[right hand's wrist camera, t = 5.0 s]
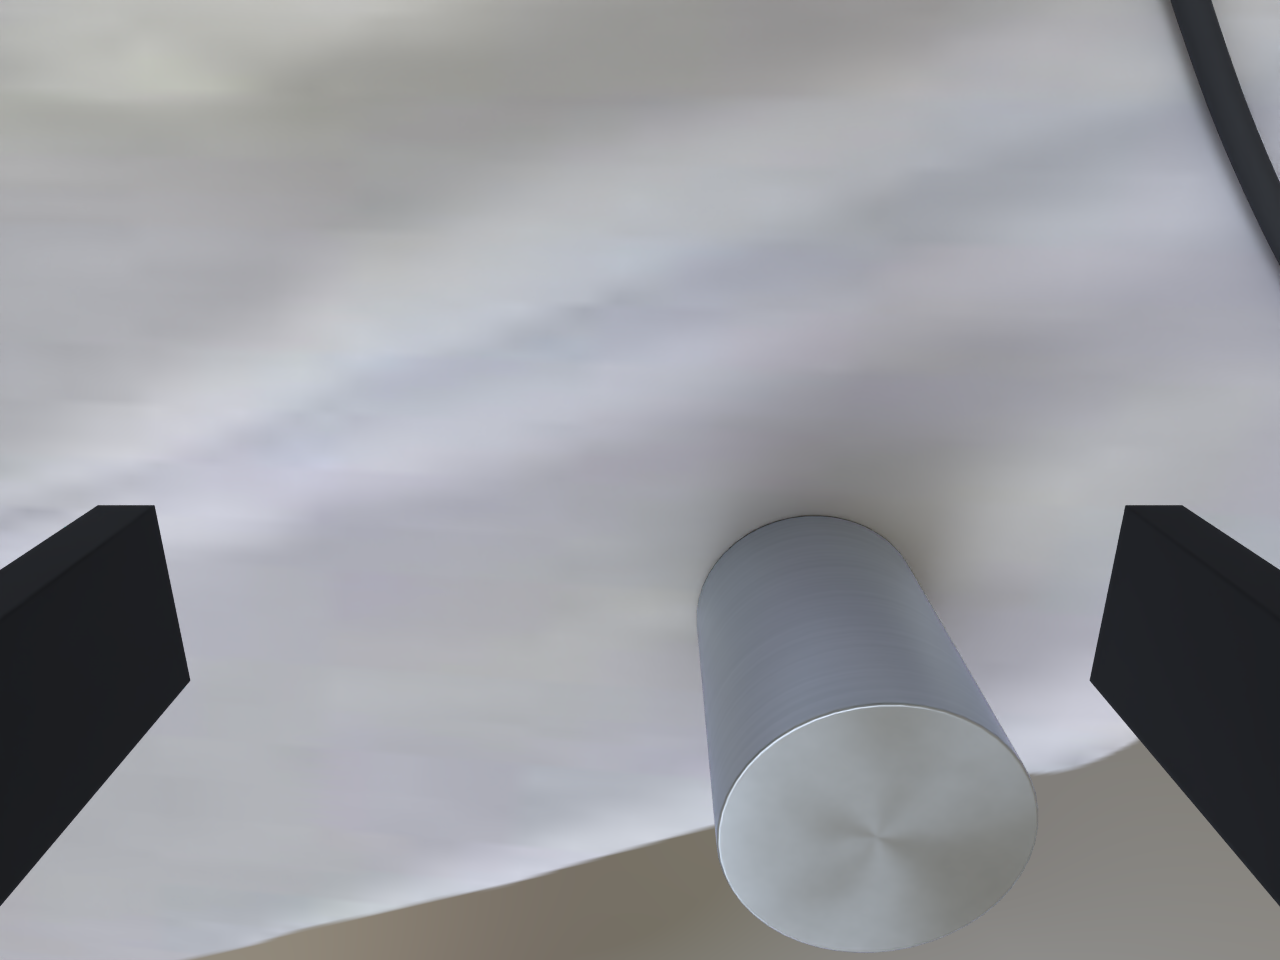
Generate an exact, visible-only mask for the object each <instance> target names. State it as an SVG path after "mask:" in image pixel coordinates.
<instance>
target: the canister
mask: <svg viewBox="0 0 1280 960" xmlns="http://www.w3.org/2000/svg"><path fill="white" fill-rule="evenodd" d="M697 632H698V643H699V654H700V666H701V677H702V688H703V699H704V710H705V721H706V732H707V744H708V755H709V766H710V777H711V788H712V799H713V810H714V821H715V833H716V843H717V850H718V857H719V861H720V864H721V867H722V870H723V874H724V876H725V878H726V879H727V882H728V883H729V885H730V887H731V889H732V891H733V892H734V893H735V895H736V896H737V897H738V899H739V900H740V901H741V903H742V904H743V905H744V906H745V907H746V908H747V909H748V910H749V911H750V912H751V913H752V914H753V915H754V916H756V917H757V918H758V919H759V920H761V921H762V922H763V923H765V924H766V925H767V926H769V927H771V928H772V929H774V930H776V931H777V932H779V933H781V934H783V935H785V936H787V937H790V938H792V939H794V940H797V941H799V942H802V943H805V944H809V945H812V946H815V947H819V948H824V949H829V950H834V951H843V952H854V953H874V952H885V951H894V950H900V949H905V948H910V947H914V946H918V945H921V944H925V943H928V942H932V941H934V940H937V939H939V938H942V937H944V936H947V935H949V934H951V933H953V932H955V931H957V930H959V929H961V928H963V927H965V926H967V925H968V924H970V923H971V922H973V921H974V920H976V919H978V918H979V917H981V916H982V915H983V914H985V913H986V912H987V911H988V910H990V909H991V908H992V907H993V906H994V905H996V904H997V903H998V902H999V901H1000V900H1001V899H1002V898H1003V897H1004V896H1005V894H1006V893H1007V892H1008V891H1009V890H1010V889H1011V888H1012V886H1013V885H1014V884H1015V882H1016V881H1017V880H1018V878H1019V877H1020V875H1021V874H1022V872H1023V870H1024V868H1025V866H1026V864H1027V863H1028V861H1029V858H1030V856H1031V853H1032V850H1033V847H1034V844H1035V840H1036V834H1037V829H1038V805H1037V799H1036V793H1035V790H1034V787H1033V784H1032V781H1031V778H1030V776H1029V774H1028V772H1027V770H1026V769H1025V767H1024V765H1023V763H1022V761H1021V760H1020V758H1019V756H1018V754H1017V753H1016V751H1015V749H1014V747H1013V746H1012V744H1011V742H1010V741H1009V739H1008V737H1007V735H1006V734H1005V732H1004V730H1003V728H1002V727H1001V725H1000V723H999V721H998V720H997V718H996V716H995V715H994V713H993V711H992V709H991V708H990V706H989V704H988V702H987V701H986V699H985V697H984V696H983V694H982V692H981V690H980V689H979V687H978V685H977V683H976V682H975V680H974V678H973V677H972V675H971V673H970V671H969V670H968V668H967V666H966V664H965V663H964V661H963V659H962V657H961V656H960V654H959V652H958V651H957V649H956V647H955V645H954V644H953V642H952V640H951V638H950V637H949V635H948V633H947V632H946V630H945V628H944V626H943V625H942V623H941V621H940V619H939V618H938V616H937V614H936V613H935V611H934V609H933V607H932V606H931V604H930V602H929V600H928V599H927V597H926V595H925V593H924V592H923V590H922V588H921V587H920V585H919V583H918V581H917V580H916V578H915V576H914V574H913V573H912V571H911V569H910V568H909V566H908V564H907V562H906V561H905V559H904V558H903V557H902V556H901V554H900V553H899V552H898V550H897V549H896V548H895V547H893V546H892V545H891V544H890V543H889V542H888V541H887V540H886V539H884V538H883V537H882V536H880V535H879V534H877V533H876V532H874V531H872V530H870V529H868V528H866V527H865V526H862V525H859V524H857V523H854V522H851V521H848V520H843V519H839V518H834V517H825V516H804V517H796V518H790V519H786V520H782V521H778V522H774V523H772V524H769V525H766V526H764V527H761V528H760V529H758V530H756V531H754V532H752V533H750V534H748V535H747V536H745V537H744V538H742V539H741V540H739V541H738V542H737V543H735V544H734V545H733V546H732V547H731V548H730V549H729V550H728V551H726V552H725V553H724V555H723V556H722V557H721V558H720V559H719V560H718V562H717V563H716V564H715V566H714V567H713V569H712V570H711V572H710V573H709V575H708V577H707V579H706V581H705V583H704V585H703V588H702V591H701V594H700V597H699V602H698V608H697Z"/></svg>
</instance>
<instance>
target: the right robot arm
mask: <svg viewBox="0 0 1280 960" xmlns="http://www.w3.org/2000/svg"><path fill="white" fill-rule="evenodd" d="M1171 3H1172V6H1173V9H1174V12H1175V15H1176V18H1177V21H1178V24H1179V27H1180V30H1181V33H1182V36H1183V39H1184V42H1185V44H1186V47H1187V50H1188V53H1189V56H1190V59H1191V62H1192V65H1193V67H1194V70H1195V73H1196V76H1197V79H1198V81H1199V84H1200V87H1201V89H1202V92H1203V95H1204V98H1205V100H1206V103H1207V105H1208V108H1209V111H1210V113H1211V116H1212V118H1213V121H1214V123H1215V126H1216V128H1217V131H1218V133H1219V136H1220V138H1221V140H1222V143H1223V145H1224V148H1225V150H1226V152H1227V155H1228V157H1229V159H1230V162H1231V164H1232V166H1233V168H1234V171H1235V173H1236V175H1237V178H1238V180H1239V182H1240V184H1241V186H1242V189H1243V191H1244V193H1245V195H1246V197H1247V199H1248V202H1249V204H1250V206H1251V208H1252V210H1253V212H1254V214H1255V216H1256V219H1257V221H1258V223H1259V225H1260V227H1261V229H1262V231H1263V233H1264V235H1265V237H1266V239H1267V241H1268V243H1269V245H1270V247H1271V249H1272V251H1273V253H1274V255H1275V257H1276V259H1277V261H1278V263H1279V265H1280V182H1279V180H1278V177H1277V175H1276V173H1275V171H1274V168H1273V166H1272V164H1271V161H1270V159H1269V157H1268V154H1267V152H1266V150H1265V147H1264V145H1263V143H1262V140H1261V138H1260V135H1259V133H1258V131H1257V128H1256V126H1255V123H1254V121H1253V118H1252V116H1251V113H1250V110H1249V108H1248V105H1247V103H1246V100H1245V97H1244V95H1243V92H1242V89H1241V87H1240V84H1239V81H1238V78H1237V76H1236V73H1235V70H1234V67H1233V64H1232V61H1231V58H1230V56H1229V53H1228V50H1227V47H1226V44H1225V41H1224V38H1223V35H1222V32H1221V29H1220V26H1219V23H1218V20H1217V17H1216V14H1215V11H1214V7H1213V4H1212V1H1211V0H1171ZM189 681H190V677H189V672H188V667H187V662H186V657H185V652H184V647H183V642H182V638H181V633H180V628H179V623H178V618H177V613H176V608H175V603H174V598H173V594H172V589H171V584H170V579H169V574H168V569H167V564H166V559H165V554H164V550H163V545H162V540H161V535H160V530H159V525H158V520H157V515H156V510H155V506H154V505H98V506H96V507H95V508H93V509H92V510H90V511H89V512H87V513H86V514H84V515H83V516H81V517H80V518H78V519H76V520H75V521H73V522H72V523H70V524H69V525H67V526H66V527H64V528H63V529H61V530H60V531H58V532H57V533H55V534H54V535H52V536H51V537H49V538H48V539H46V540H45V541H43V542H42V543H40V544H39V545H37V546H36V547H34V548H33V549H31V550H30V551H28V552H27V553H25V554H24V555H22V556H21V557H19V558H18V559H16V560H15V561H13V562H11V563H10V564H8V565H7V566H5V567H4V568H2V569H1V570H0V906H1V905H2V904H3V902H4V901H5V900H6V899H7V898H8V896H9V895H10V894H11V893H12V892H13V890H14V889H15V888H16V887H17V886H18V885H19V883H20V882H21V881H22V880H23V879H24V877H25V876H26V875H27V874H28V873H29V871H30V870H31V869H32V868H33V867H34V866H35V864H36V863H37V862H38V861H39V860H40V858H41V857H42V856H43V855H44V854H45V852H46V851H47V850H48V849H49V848H50V847H51V845H52V844H53V843H54V842H55V841H56V839H57V838H58V837H59V836H60V835H61V833H62V832H63V831H64V830H65V829H66V828H67V826H68V825H69V824H70V823H71V822H72V820H73V819H74V818H75V817H76V816H77V814H78V813H79V812H80V811H81V810H82V809H83V807H84V806H85V805H86V804H87V803H88V801H89V800H90V799H91V798H92V797H93V795H94V794H95V793H96V792H97V791H98V790H99V788H100V787H101V786H102V785H103V784H104V782H105V781H106V780H107V779H108V778H109V776H110V775H111V774H112V773H113V772H114V771H115V769H116V768H117V767H118V766H119V765H120V763H121V762H122V761H123V760H124V759H125V757H126V756H127V755H128V754H129V753H130V752H131V750H132V749H133V748H134V747H135V746H136V744H137V743H138V742H139V741H140V740H141V738H142V737H143V736H144V735H145V734H146V733H147V731H148V730H149V729H150V728H151V727H152V725H153V724H154V723H155V722H156V721H157V719H158V718H159V717H160V716H161V715H162V714H163V712H164V711H165V710H166V709H167V708H168V706H169V705H170V704H171V703H172V702H173V700H174V699H175V698H176V697H177V696H178V695H179V693H180V692H181V691H182V690H183V689H184V687H185V686H186V685H187V684H188V683H189ZM1090 681H1091V683H1092V684H1093V685H1094V686H1095V687H1096V689H1097V690H1098V691H1099V692H1100V693H1101V695H1102V696H1103V697H1104V698H1105V699H1106V700H1107V702H1108V703H1109V704H1110V705H1111V706H1112V708H1113V709H1114V710H1115V711H1116V712H1117V714H1118V715H1119V716H1120V717H1121V718H1122V719H1123V721H1124V722H1125V723H1126V724H1127V725H1128V727H1129V728H1130V729H1131V730H1132V731H1133V733H1134V734H1135V735H1136V736H1137V737H1138V738H1139V740H1140V741H1141V742H1142V743H1143V744H1144V746H1145V747H1146V748H1147V749H1148V750H1149V752H1150V753H1151V754H1152V755H1153V756H1154V757H1155V759H1156V760H1157V761H1158V762H1159V763H1160V765H1161V766H1162V767H1163V768H1164V769H1165V771H1166V772H1167V773H1168V774H1169V775H1170V776H1171V778H1172V779H1173V780H1174V781H1175V782H1176V784H1177V785H1178V786H1179V787H1180V788H1181V790H1182V791H1183V792H1184V793H1185V794H1186V795H1187V797H1188V798H1189V799H1190V800H1191V801H1192V803H1193V804H1194V805H1195V806H1196V807H1197V809H1198V810H1199V811H1200V812H1201V813H1202V814H1203V816H1204V817H1205V818H1206V819H1207V820H1208V822H1209V823H1210V824H1211V825H1212V826H1213V828H1214V829H1215V830H1216V831H1217V832H1218V833H1219V835H1220V836H1221V837H1222V838H1223V839H1224V841H1225V842H1226V843H1227V844H1228V845H1229V847H1230V848H1231V849H1232V850H1233V851H1234V852H1235V854H1236V855H1237V856H1238V857H1239V858H1240V860H1241V861H1242V862H1243V863H1244V864H1245V865H1246V867H1247V868H1248V869H1249V870H1250V871H1251V873H1252V874H1253V875H1254V876H1255V877H1256V879H1257V880H1258V881H1259V882H1260V883H1261V885H1262V886H1263V887H1264V888H1265V889H1266V890H1267V892H1268V893H1269V894H1270V895H1271V896H1272V898H1273V899H1274V900H1275V901H1276V902H1277V903H1278V905H1279V906H1280V570H1279V569H1278V568H1276V567H1275V566H1273V565H1272V564H1270V563H1269V562H1267V561H1265V560H1264V559H1262V558H1261V557H1259V556H1258V555H1256V554H1255V553H1253V552H1252V551H1250V550H1249V549H1247V548H1246V547H1244V546H1243V545H1241V544H1240V543H1238V542H1237V541H1235V540H1234V539H1232V538H1231V537H1229V536H1228V535H1226V534H1225V533H1223V532H1222V531H1220V530H1219V529H1217V528H1216V527H1214V526H1213V525H1211V524H1210V523H1208V522H1207V521H1205V520H1204V519H1202V518H1200V517H1199V516H1197V515H1196V514H1194V513H1193V512H1191V511H1190V510H1188V509H1187V508H1185V507H1184V506H1182V505H1126V506H1125V510H1124V515H1123V520H1122V525H1121V530H1120V535H1119V540H1118V545H1117V550H1116V554H1115V559H1114V564H1113V569H1112V574H1111V579H1110V584H1109V589H1108V594H1107V598H1106V603H1105V608H1104V613H1103V618H1102V623H1101V628H1100V633H1099V638H1098V642H1097V647H1096V652H1095V657H1094V662H1093V667H1092V672H1091V677H1090Z"/></svg>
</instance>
